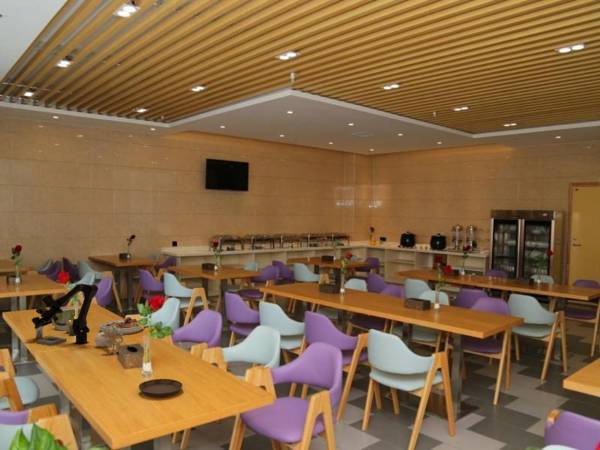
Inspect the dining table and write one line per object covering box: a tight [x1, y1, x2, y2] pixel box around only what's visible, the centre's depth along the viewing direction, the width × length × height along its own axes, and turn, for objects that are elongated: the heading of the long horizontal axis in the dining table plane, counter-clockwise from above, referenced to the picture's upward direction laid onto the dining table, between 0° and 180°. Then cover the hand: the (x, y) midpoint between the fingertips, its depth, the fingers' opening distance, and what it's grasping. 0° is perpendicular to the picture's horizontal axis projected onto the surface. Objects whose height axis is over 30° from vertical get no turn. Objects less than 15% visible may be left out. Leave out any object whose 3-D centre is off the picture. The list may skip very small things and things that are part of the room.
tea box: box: [54, 306, 81, 332], centre depth 369 cm, size 15×10×15 cm, turn 143°
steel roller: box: [35, 326, 44, 340], centre depth 338 cm, size 4×4×12 cm
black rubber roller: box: [69, 325, 76, 337], centre depth 349 cm, size 4×4×7 cm
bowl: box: [99, 316, 143, 335], centre depth 367 cm, size 30×30×8 cm
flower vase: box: [94, 324, 124, 355], centre depth 316 cm, size 13×18×25 cm
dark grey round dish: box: [36, 335, 67, 347], centre depth 328 cm, size 12×12×2 cm
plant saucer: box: [138, 378, 183, 398], centre depth 246 cm, size 21×21×3 cm
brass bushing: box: [65, 320, 73, 335], centre depth 355 cm, size 4×4×9 cm
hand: (37, 327), depth 338 cm, fingers open, 4 cm apart
